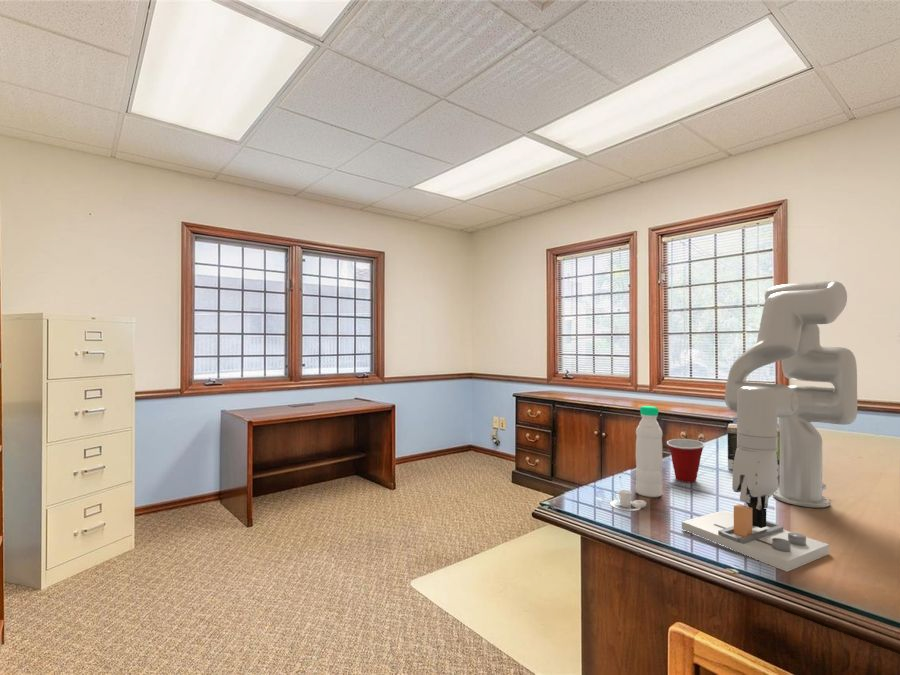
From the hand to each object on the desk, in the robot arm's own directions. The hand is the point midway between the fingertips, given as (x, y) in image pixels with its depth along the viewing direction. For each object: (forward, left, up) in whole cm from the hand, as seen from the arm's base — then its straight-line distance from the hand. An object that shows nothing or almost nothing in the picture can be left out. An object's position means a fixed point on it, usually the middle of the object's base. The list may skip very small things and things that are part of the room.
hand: (756, 525), depth 104 cm
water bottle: (-5, -32, -3) cm, 33 cm away
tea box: (-59, -33, -4) cm, 68 cm away
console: (+2, 0, -3) cm, 4 cm away
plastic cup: (-27, -36, -3) cm, 45 cm away
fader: (+5, 0, -1) cm, 5 cm away
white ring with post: (+9, -26, -4) cm, 27 cm away
